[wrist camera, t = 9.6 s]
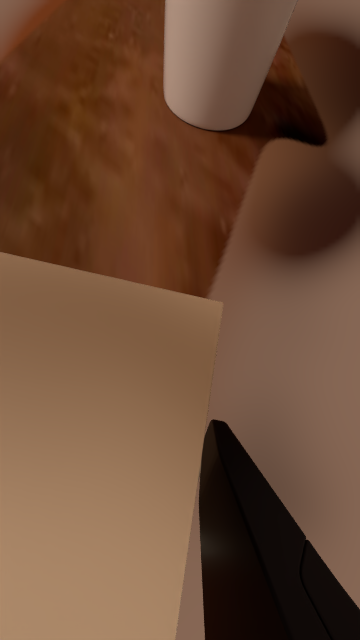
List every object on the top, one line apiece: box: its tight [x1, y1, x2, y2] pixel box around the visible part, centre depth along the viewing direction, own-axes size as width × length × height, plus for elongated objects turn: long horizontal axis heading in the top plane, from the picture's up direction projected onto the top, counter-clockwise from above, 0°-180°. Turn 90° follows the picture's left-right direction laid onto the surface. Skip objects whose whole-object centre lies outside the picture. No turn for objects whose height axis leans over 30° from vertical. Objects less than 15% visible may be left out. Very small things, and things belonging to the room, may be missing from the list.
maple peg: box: [0, 252, 223, 640], centre depth 9 cm, size 4×4×12 cm
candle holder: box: [164, 0, 298, 131], centre depth 21 cm, size 10×10×12 cm
